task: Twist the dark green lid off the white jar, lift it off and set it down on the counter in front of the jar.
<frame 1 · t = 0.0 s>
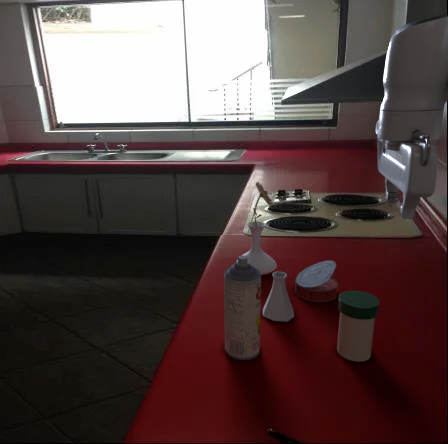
hand: (398, 209, 72), 28 cm above the counter, tool pointing down, fingers open, 8 cm apart
canned food: (315, 293, 104), on the counter
white jar: (353, 352, 81), on the counter
aerosol can: (242, 350, 83), on the counter
flower in vase: (256, 269, 119), on the counter
lid: (358, 300, 77), point 11 cm above the counter, screwed on, not yet turned
flask: (278, 314, 95), on the counter
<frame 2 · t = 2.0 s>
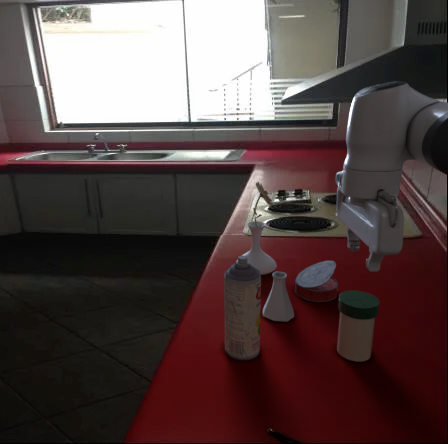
hand: (362, 259, 75), 19 cm above the counter, tool pointing down, fingers open, 8 cm apart
nothing on the counter moved.
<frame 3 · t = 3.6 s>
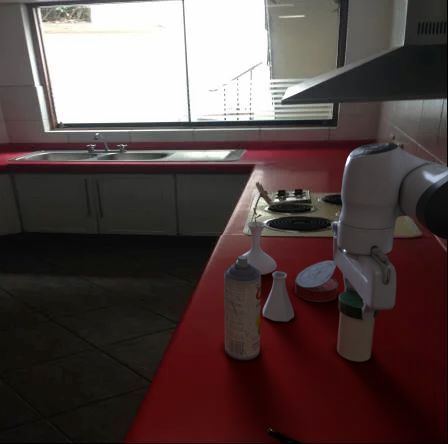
hand: (357, 306, 78), 10 cm above the counter, tool pointing down, fingers closed on lid, 7 cm apart
lid: (358, 300, 77), point 11 cm above the counter, screwed on, not yet turned, touching gripper
everything else where it was.
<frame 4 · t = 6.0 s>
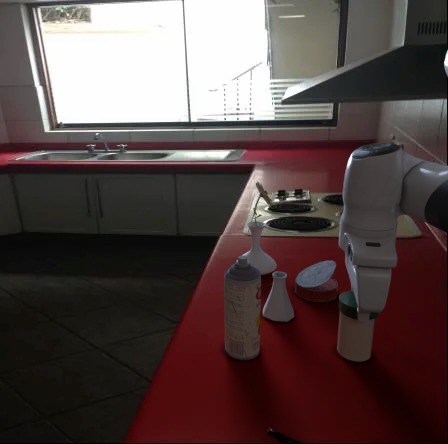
hand: (359, 308, 77), 10 cm above the counter, tool pointing down, fingers closed on lid, 7 cm apart
lid: (359, 301, 77), point 11 cm above the counter, off its thread, touching gripper
everything else where it was.
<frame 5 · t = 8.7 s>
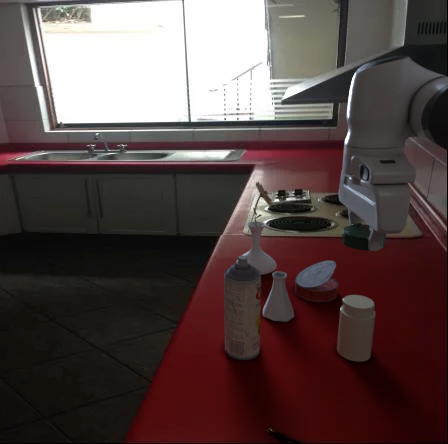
hand: (363, 240, 73), 23 cm above the counter, tool pointing down, fingers closed on lid, 7 cm apart
lid: (364, 232, 73), point 25 cm above the counter, off its thread, touching gripper
everything else where it was.
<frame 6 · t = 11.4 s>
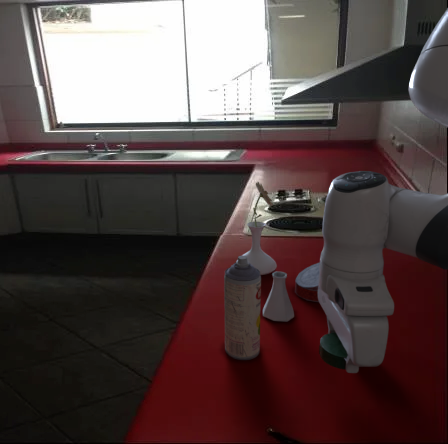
hand: (342, 354, 69), 7 cm above the counter, tool pointing down, fingers closed on lid, 7 cm apart
lid: (342, 346, 68), point 9 cm above the counter, off its thread, touching gripper
everything else where it was.
when the fingers open (0 cm above the counter, at t = 13.9 s): lid stays where it is, point 2 cm above the counter.
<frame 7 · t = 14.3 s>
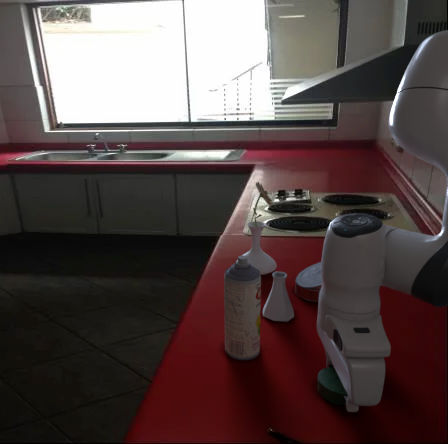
hand: (340, 388, 70), 1 cm above the counter, tool pointing down, fingers open, 8 cm apart
lid: (339, 381, 70), point 2 cm above the counter, off its thread
everything else where it was.
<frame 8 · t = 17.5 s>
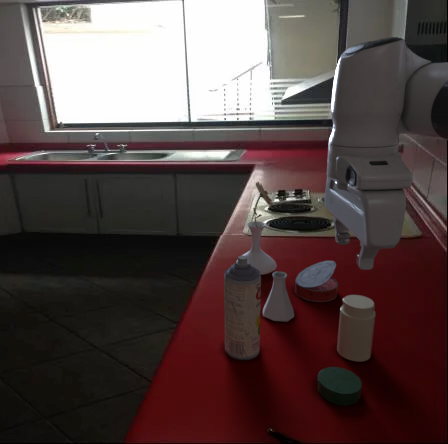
hand: (352, 254, 63), 25 cm above the counter, tool pointing down, fingers open, 8 cm apart
nothing on the counter moved.
at the end: lid came off its thread; lid point 1.9 cm above the counter; the gripper is holding nothing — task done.
